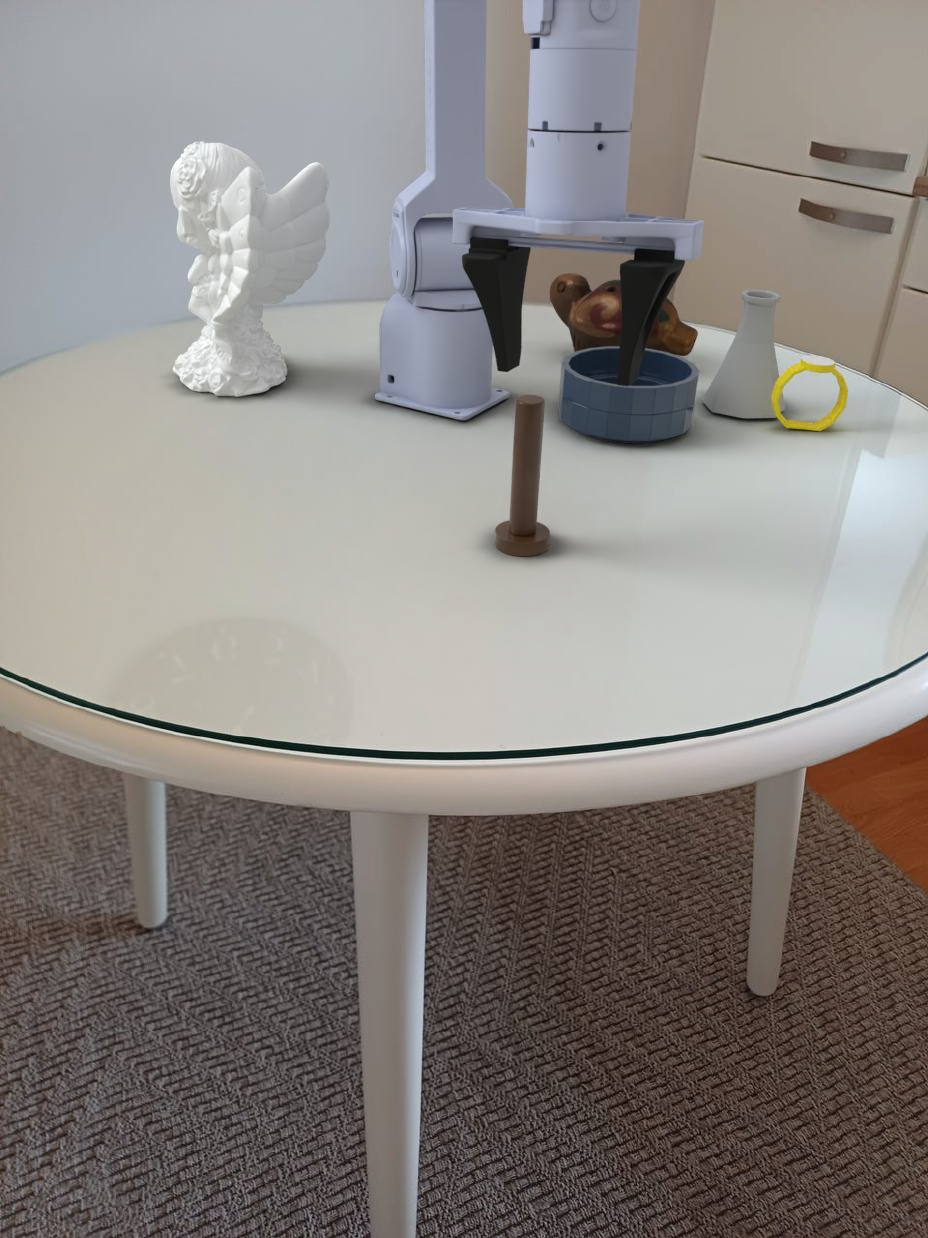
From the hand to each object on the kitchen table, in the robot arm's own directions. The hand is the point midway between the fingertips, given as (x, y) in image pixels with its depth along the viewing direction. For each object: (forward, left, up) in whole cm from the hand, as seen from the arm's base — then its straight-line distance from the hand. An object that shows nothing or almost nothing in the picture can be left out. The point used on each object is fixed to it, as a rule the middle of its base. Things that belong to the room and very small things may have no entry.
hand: (566, 375), depth 66 cm
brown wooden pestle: (-2, -1, -12) cm, 12 cm away
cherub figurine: (-40, +15, -12) cm, 44 cm away
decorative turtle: (-14, +40, -12) cm, 44 cm away
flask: (+1, +34, -12) cm, 36 cm away
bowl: (-6, +24, -12) cm, 27 cm away
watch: (+7, +32, -12) cm, 35 cm away
